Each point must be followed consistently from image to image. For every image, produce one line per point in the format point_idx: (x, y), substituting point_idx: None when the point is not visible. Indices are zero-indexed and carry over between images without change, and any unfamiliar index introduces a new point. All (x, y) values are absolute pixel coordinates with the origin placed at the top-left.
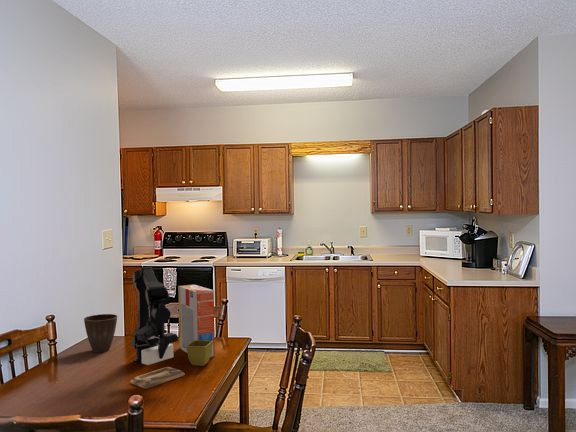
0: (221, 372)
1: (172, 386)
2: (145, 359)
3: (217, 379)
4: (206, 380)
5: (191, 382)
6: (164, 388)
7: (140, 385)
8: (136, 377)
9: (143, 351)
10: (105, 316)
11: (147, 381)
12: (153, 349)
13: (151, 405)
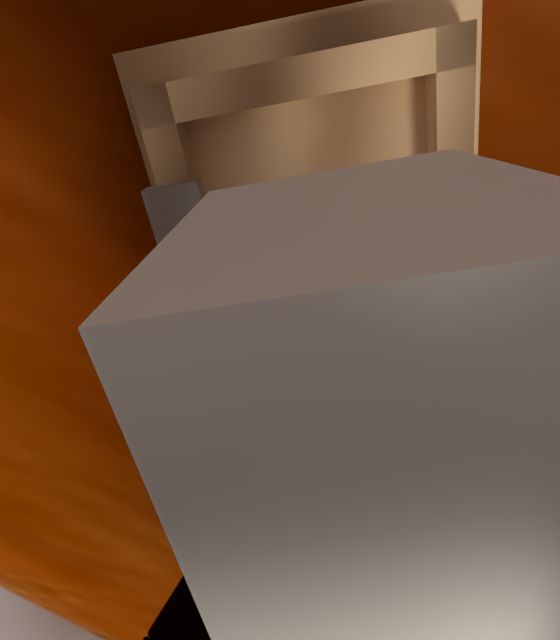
0: (127, 630)
1: (37, 307)
2: (296, 197)
3: (8, 569)
4: (29, 525)
5: (47, 449)
6: (23, 227)
7: (233, 30)
8: (439, 61)
9: (481, 249)
10: None
11: (165, 109)
12: (284, 612)
13: None
